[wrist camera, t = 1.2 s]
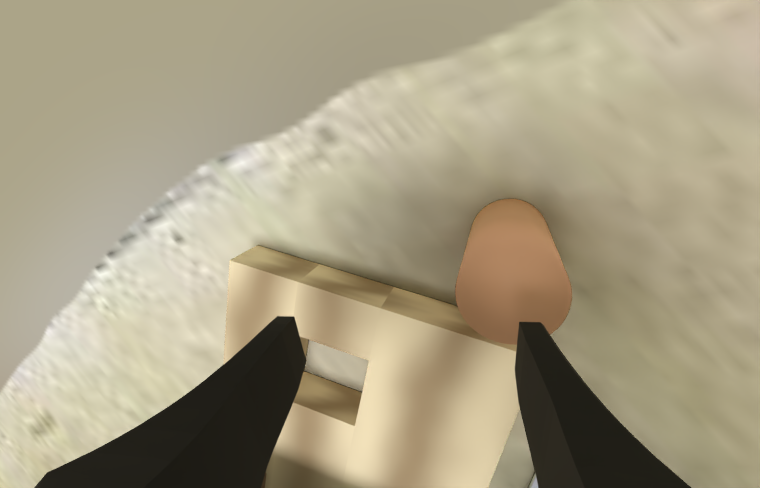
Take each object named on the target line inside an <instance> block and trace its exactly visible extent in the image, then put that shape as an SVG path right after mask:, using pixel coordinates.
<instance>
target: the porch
mask: <svg viewBox="0 0 760 488" xmlns="http://www.w3.org/2000/svg"><path fill="white" fill-rule="evenodd" d="M277 316H293V317H295V321H296V325H297V328H298V332H299V336H300V339H301V343H302V347H303V350H304V354H305V358H306V354H307V347H308V340H312V341H314V342H317V343H320V344H323V345H326V346H329V347H332V348H334V349H337V350H340V351H343V352H346V353H349V354H352V355H355V356H357V357H360V358H363V359H366V360H369V363H368V368H367V372H366V377H365V381H364V386H363V391H362V392H359V391H356V390H354V389H351V388H348V387H345V386H343V385H340V384H337V383H335V382H332V381H329V380H326V379H324V378H321V377H318V376H316V375H313V374H310V373H307V372H305V371H303V375H302V379H301V382H300V386H299V389H298V392H297V394H296V397H295V399H294V402H293V404H292V407H291V409H290V412H289V414H288V416H287V419H286V421H285V424H284V426H283V428H282V431H281V433H280V436H279V438H278V441H277V443H276V445H275V448H274V450H273V453H272V455H271V458H270V461H269V464H268V466H267V469H266V473H265V476H264V479H263V483H262V486H261V488H488V487H489V484H490V482H491V479H492V477H493V474H494V472H495V469H496V467H497V464H498V462H499V459H500V457H501V454H502V452H503V449H504V447H505V444H506V442H507V439H508V437H509V434H510V432H511V429H512V427H513V424H514V422H515V419H516V417H517V414H518V412H519V409H520V406H519V402H518V394H517V386H516V377H515V360H516V350H517V345H514V344H504V343H499V342H495V341H493V340H490V339H488V338H486V337H484V336H482V335H480V334H479V333H477V332H476V331H475V330H474V329H472V328H471V327H470V326H469V325H468V323H467V322H466V321H465V320H464V318H463V317H462V315H461V313H460V311H459V309H458V306H455V305H452V304H448V303H445V302H442V301H439V300H435V299H432V298H429V297H426V296H422V295H419V294H416V293H412V292H409V291H406V290H403V289H399V288H396V287H393V286H390V285H386V284H383V283H380V282H376V281H373V280H370V279H367V278H363V277H360V276H357V275H354V274H350V273H347V272H344V271H340V270H337V269H334V268H331V267H327V266H324V265H321V264H318V263H314V262H311V261H308V260H304V259H301V258H298V257H295V256H291V255H288V254H285V253H281V252H278V251H275V250H272V249H268V248H265V247H262V246H259V245H258V246H256V247H254V248H252V249H250V250H248V251H246V252H244V253H242V254H241V255H239V256H237V257H235V258H233V259H231V260H230V264H229V280H228V297H227V314H226V330H225V347H224V364H225V363H226V362H227V361H229V360H230V359H231V358H232V357H233V356H234V355H235V354H236V353H238V352H239V351H240V350H241V349H242V348H243V347H244V346H245V345H246V344H247V343H249V342H250V341H251V340H252V339H253V338H254V337H255V336H256V335H257V334H258V333H259V332H260V331H261V330H263V329H264V328H265V327H266V326H267V325H268V324H269V323H270V322H271V321H272V320H273V319H275V318H276V317H277ZM224 364H223V365H224Z"/></svg>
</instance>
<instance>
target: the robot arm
mask: <svg viewBox="0 0 760 488" xmlns="http://www.w3.org/2000/svg"><path fill="white" fill-rule="evenodd" d="M305 363H306V358H305V354H304V350H303V347H302V343H301V339H300V336H299V332H298V328H297V325H296V321H295V317H293V316H277V317H276V318H275V319H273V320H272V321H271V322H270V323H269V324H268V325H267V326H266V327H265V328H264V329H263V330H261V331H260V332H259V333H258V334H257V335H256V336H255V337H254V338H253V339H252V340H251V341H250V342H249V343H247V344H246V345H245V346H244V347H243V348H242V349H241V350H240V351H239V352H238V353H236V354H235V355H234V356H233V357H232V358H231V359H230V360H229V361H227V362H226V363H225V364H224V365H223V366H221V367H220V368H219V369H218V370H217V371H215V372H214V373H213V374H212V375H211V376H209V377H208V378H207V379H206V380H205V381H203V382H202V383H201V384H199V385H198V386H197V387H195V388H194V389H193V390H192V391H190V392H189V393H187V394H186V395H185V396H183V397H182V398H180V399H179V400H178V401H176V402H175V403H173V404H172V405H170V406H169V407H167V408H166V409H164V410H163V411H161V412H159V413H158V414H156V415H155V416H153V417H152V418H150V419H148V420H147V421H145V422H144V423H142V424H141V425H139V426H137V427H136V428H134V429H132V430H130V431H129V432H127V433H125V434H123V435H122V436H120V437H118V438H116V439H114V440H112V441H111V442H109V443H107V444H105V445H103V446H101V447H99V448H97V449H96V450H94V451H92V452H90V453H88V454H86V455H83V456H81V457H79V458H77V459H75V460H73V461H71V462H69V463H67V464H65V465H63V466H61V467H58V468H56V469H54V470H52V471H50V472H48V473H47V474H46V475H45V476H44V477H43V478H42V479H41V481H40V482H39V483H38V484H37V485H36V486H35V488H261V486H262V483H263V479H264V476H265V473H266V469H267V466H268V464H269V461H270V458H271V455H272V453H273V450H274V448H275V445H276V443H277V441H278V438H279V436H280V433H281V431H282V428H283V426H284V424H285V421H286V419H287V416H288V414H289V412H290V409H291V407H292V404H293V402H294V399H295V397H296V394H297V392H298V389H299V386H300V382H301V379H302V375H303V371H304V367H305ZM515 377H516V386H517V394H518V402H519V406H520V410H521V415H522V419H523V423H524V427H525V432H526V436H527V440H528V444H529V448H530V452H531V457H532V461H533V465H534V469H535V474H534V477H533V479H532V481H531V483H530V486H529V488H691V487H690V486H689V485H687V484H686V483H685V482H684V481H683V480H682V479H681V478H679V477H678V476H677V475H676V474H675V473H674V472H672V471H671V470H670V469H669V468H668V467H667V466H665V465H664V464H663V463H662V462H661V461H660V460H659V459H657V458H656V457H655V456H654V455H653V454H652V453H651V452H650V451H649V450H648V449H647V448H646V447H644V446H643V445H642V444H641V443H640V442H639V441H638V440H637V439H636V438H635V437H634V436H633V435H632V434H631V433H630V432H629V431H628V430H627V429H626V428H625V427H624V426H623V425H622V424H621V423H620V422H619V421H618V420H617V419H616V418H615V417H614V416H613V414H612V413H611V412H610V411H609V410H608V409H607V408H606V407H605V406H604V405H603V403H602V402H601V401H600V400H599V399H598V398H597V396H596V395H595V394H594V393H593V392H592V391H591V389H590V388H589V387H588V386H587V385H586V383H585V382H584V381H583V380H582V378H581V377H580V376H579V375H578V373H577V372H576V371H575V369H574V368H573V367H572V366H571V364H570V363H569V362H568V360H567V359H566V358H565V356H564V355H563V353H562V352H561V351H560V349H559V348H558V346H557V345H556V343H555V342H554V340H553V339H552V337H551V336H550V334H549V333H548V331H547V330H546V328H545V326H544V325H543V324H542V323H541V322H519V329H518V339H517V350H516V360H515Z"/></svg>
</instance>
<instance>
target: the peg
mask: <svg viewBox="0 0 760 488" xmlns="http://www.w3.org/2000/svg"><path fill="white" fill-rule="evenodd" d="M455 297H456V302H457V306H458V309H459V311H460V313H461V315H462V317H463V318H464V320H465V321H466V322H467V323H468V325H469V326H470V327H471V328H472V329H474V330H475V331H476V332H477V333H479V334H480V335H482V336H484V337H486V338H488V339H490V340H493V341H495V342H499V343H504V344H514V345H517V339H518V329H519V322H541V323H542V324H543V325H544V326H545V328H546V330H547V331H548V333H549V334H551V333H553V332H554V331H555V330H556V329H557V328H558V327H559V326H560V325H561V324H562V323H563V321H564V320H565V318H566V317H567V315H568V313H569V310H570V307H571V301H572V289H571V284H570V281H569V278H568V275H567V273H566V270H565V268H564V265H563V263H562V260H561V258H560V255H559V253H558V251H557V248H556V246H555V243H554V241H553V238H552V236H551V233H550V231H549V229H548V226H547V224H546V221H545V219H544V217H543V216H542V214H541V213H540V212H539V211H538V210H537V209H536V208H535V207H534V206H532V205H531V204H529V203H527V202H525V201H522V200H518V199H502V200H498V201H495V202H492V203H490V204H489V205H487V206H485V207H484V208H483V209H482V210H481V211H480V212H479V213H478V214H477V216H476V217H475V219H474V221H473V224H472V227H471V231H470V234H469V238H468V241H467V245H466V249H465V252H464V256H463V259H462V263H461V266H460V270H459V274H458V277H457V281H456V286H455Z"/></svg>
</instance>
